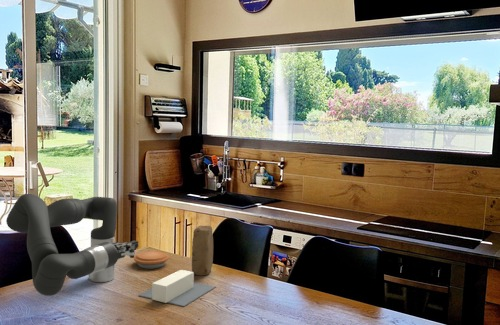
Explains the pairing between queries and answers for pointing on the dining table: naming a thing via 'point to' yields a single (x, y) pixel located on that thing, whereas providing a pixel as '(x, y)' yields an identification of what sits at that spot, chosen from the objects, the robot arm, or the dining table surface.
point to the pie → (151, 259)
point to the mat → (185, 294)
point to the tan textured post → (202, 250)
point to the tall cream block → (172, 286)
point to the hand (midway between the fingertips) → (136, 243)
